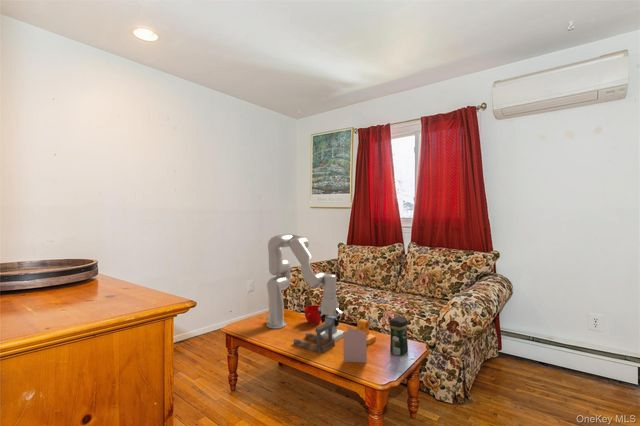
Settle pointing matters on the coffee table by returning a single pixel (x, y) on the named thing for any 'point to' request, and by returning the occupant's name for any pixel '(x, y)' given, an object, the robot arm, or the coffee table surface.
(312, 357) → the coffee table surface
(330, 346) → the rack
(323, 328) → the grey arch
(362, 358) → the greeting card
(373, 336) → the bracket
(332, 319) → the block
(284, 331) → the coffee table surface
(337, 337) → the plinth
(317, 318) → the ceramic cup
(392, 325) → the coffee jar
